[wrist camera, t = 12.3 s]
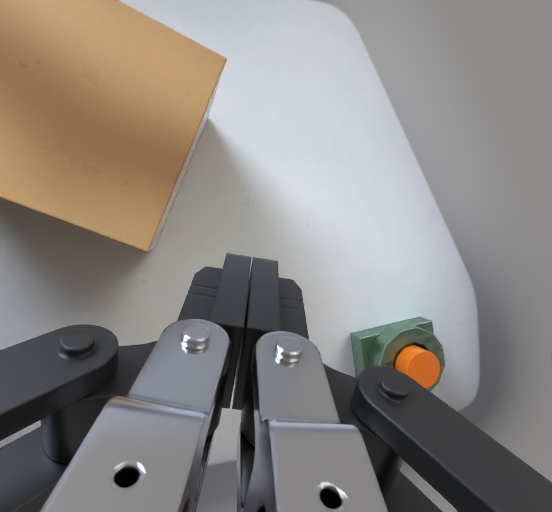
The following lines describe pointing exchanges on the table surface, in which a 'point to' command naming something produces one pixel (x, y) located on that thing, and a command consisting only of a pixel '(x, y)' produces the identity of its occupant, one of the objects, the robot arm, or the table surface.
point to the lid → (98, 112)
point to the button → (418, 365)
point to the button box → (394, 344)
